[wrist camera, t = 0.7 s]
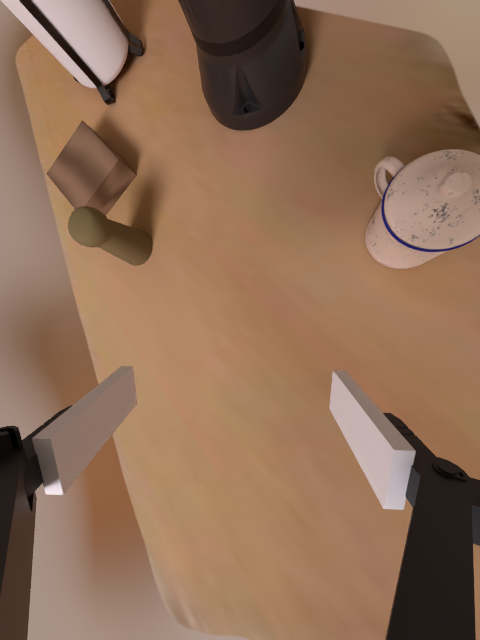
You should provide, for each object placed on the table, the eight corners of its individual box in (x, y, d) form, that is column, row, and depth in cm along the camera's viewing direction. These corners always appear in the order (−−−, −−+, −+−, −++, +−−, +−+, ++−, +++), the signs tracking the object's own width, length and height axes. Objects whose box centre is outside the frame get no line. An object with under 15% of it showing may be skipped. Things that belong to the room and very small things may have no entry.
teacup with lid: (463, 242, 28) (568, 187, 17) (389, 285, 30) (437, 263, 19) (401, 166, 30) (458, 71, 18) (335, 211, 32) (350, 151, 21)
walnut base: (102, 138, 43) (82, 120, 39) (136, 175, 41) (118, 159, 37) (68, 186, 45) (46, 173, 41) (99, 223, 43) (78, 213, 39)
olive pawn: (131, 272, 41) (69, 254, 30) (118, 243, 42) (53, 216, 31) (157, 253, 40) (102, 227, 29) (143, 223, 40) (85, 188, 30)
